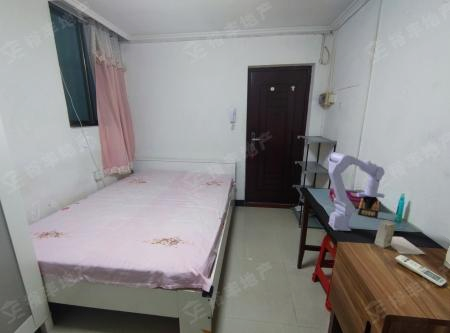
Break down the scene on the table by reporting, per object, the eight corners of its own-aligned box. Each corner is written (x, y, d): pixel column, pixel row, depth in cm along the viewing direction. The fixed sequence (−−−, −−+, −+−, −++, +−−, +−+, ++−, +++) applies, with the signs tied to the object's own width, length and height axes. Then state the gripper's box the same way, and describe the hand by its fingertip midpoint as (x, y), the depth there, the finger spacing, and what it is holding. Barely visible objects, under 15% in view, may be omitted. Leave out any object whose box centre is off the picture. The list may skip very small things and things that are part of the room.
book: (328, 196, 172) (330, 187, 171) (368, 200, 166) (370, 191, 164) (334, 206, 153) (336, 196, 151) (379, 212, 146) (382, 202, 144)
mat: (400, 253, 101) (400, 252, 101) (380, 237, 115) (380, 236, 115) (425, 254, 101) (425, 253, 101) (401, 237, 115) (402, 236, 114)
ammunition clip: (357, 214, 140) (361, 197, 137) (357, 213, 142) (360, 196, 139) (377, 218, 136) (381, 200, 133) (376, 217, 138) (380, 199, 135)
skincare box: (383, 248, 105) (388, 225, 102) (373, 243, 109) (378, 221, 106) (391, 245, 107) (396, 223, 104) (381, 241, 111) (387, 219, 108)
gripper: (380, 184, 125) (375, 206, 129) (355, 183, 126) (351, 205, 129) (389, 188, 119) (384, 211, 122) (362, 187, 119) (358, 210, 122)
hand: (367, 208), depth 125 cm, fingers closed
